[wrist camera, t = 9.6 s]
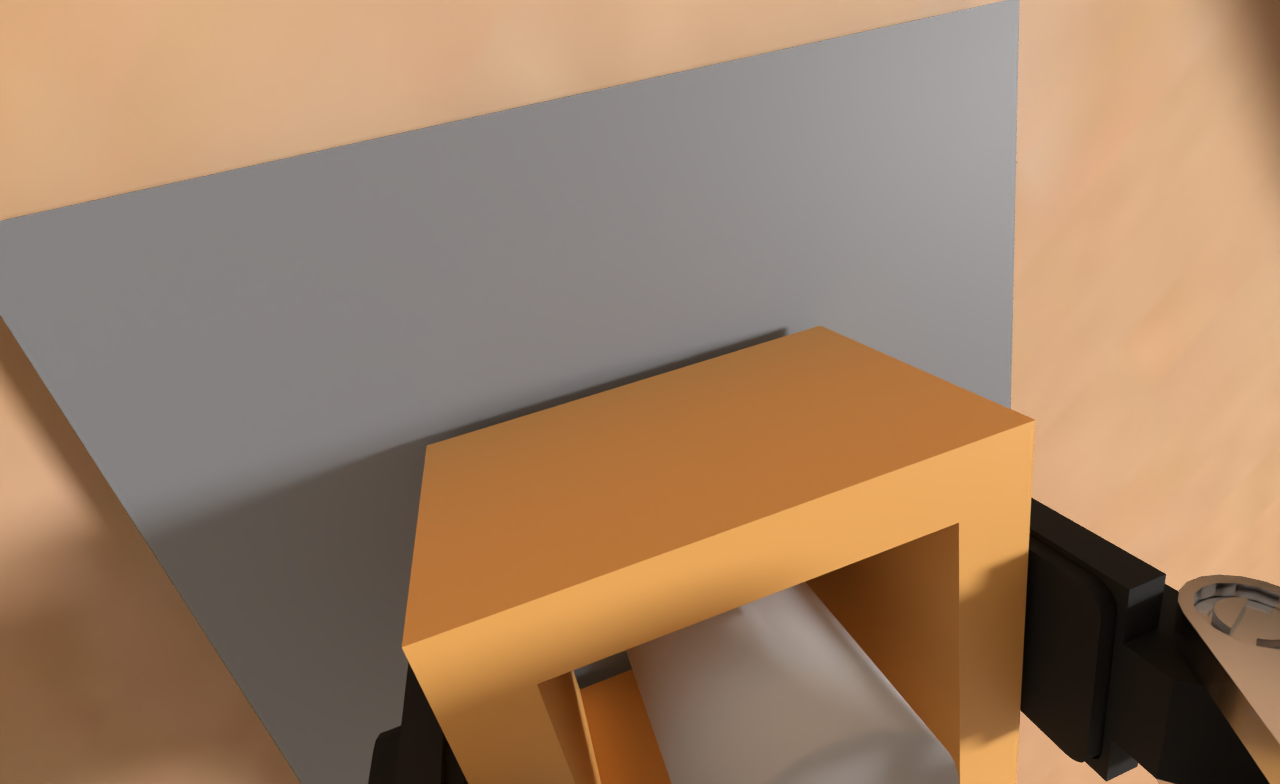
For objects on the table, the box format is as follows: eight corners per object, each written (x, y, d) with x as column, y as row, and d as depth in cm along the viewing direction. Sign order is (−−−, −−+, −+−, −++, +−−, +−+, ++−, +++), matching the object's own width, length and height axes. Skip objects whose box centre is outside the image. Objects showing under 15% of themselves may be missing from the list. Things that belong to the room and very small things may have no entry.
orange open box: (426, 445, 10) (401, 647, 6) (820, 325, 11) (1035, 419, 7) (545, 742, 12) (585, 1023, 8) (848, 620, 14) (1014, 814, 10)
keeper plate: (2, 226, 9) (-1345, 375, 2) (974, 12, 11) (1642, -202, 5) (408, 897, 15) (366, 1454, 8) (976, 653, 17) (1274, 931, 11)
